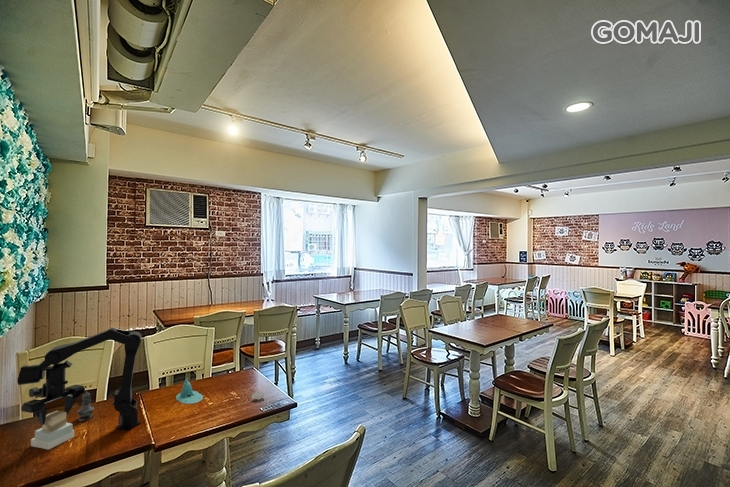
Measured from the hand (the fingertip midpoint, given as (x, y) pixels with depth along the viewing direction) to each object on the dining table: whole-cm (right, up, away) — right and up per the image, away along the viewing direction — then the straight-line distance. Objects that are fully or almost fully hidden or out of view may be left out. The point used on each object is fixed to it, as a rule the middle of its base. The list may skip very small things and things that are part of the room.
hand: (54, 419), depth 133 cm
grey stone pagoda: (-3, -9, +18) cm, 20 cm away
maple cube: (0, -3, 0) cm, 3 cm away
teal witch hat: (+32, -10, +40) cm, 53 cm away
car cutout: (+64, -11, +38) cm, 75 cm away
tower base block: (-1, -9, 0) cm, 9 cm away
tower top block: (0, -6, 0) cm, 6 cm away
